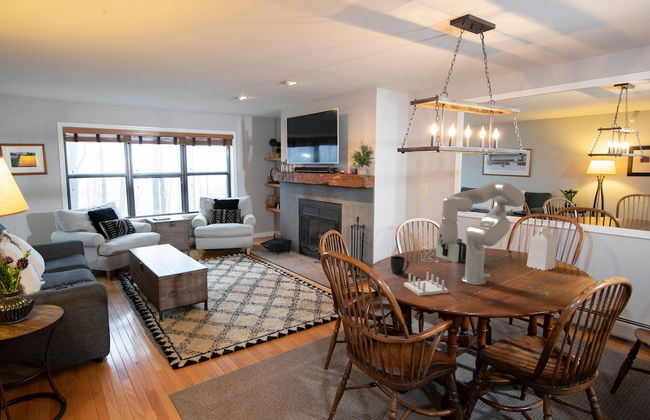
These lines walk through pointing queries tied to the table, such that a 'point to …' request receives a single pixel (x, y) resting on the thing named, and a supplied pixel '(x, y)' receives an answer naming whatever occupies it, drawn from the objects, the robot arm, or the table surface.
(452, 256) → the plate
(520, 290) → the table surface
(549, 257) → the milk
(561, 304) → the table surface
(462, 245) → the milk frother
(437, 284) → the dish rack
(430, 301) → the table surface
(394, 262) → the mug
